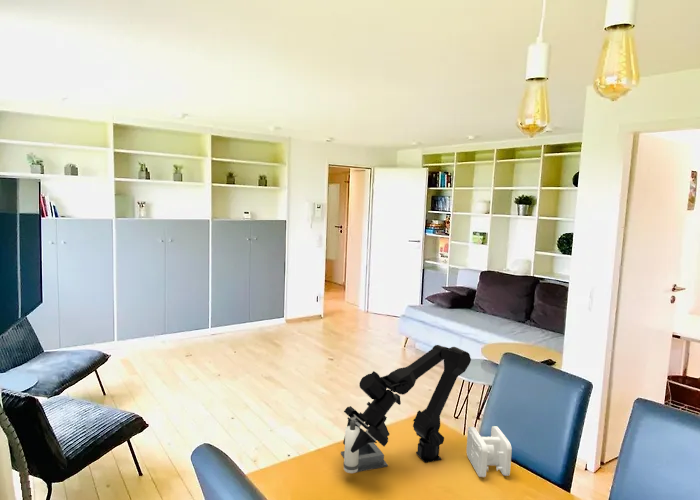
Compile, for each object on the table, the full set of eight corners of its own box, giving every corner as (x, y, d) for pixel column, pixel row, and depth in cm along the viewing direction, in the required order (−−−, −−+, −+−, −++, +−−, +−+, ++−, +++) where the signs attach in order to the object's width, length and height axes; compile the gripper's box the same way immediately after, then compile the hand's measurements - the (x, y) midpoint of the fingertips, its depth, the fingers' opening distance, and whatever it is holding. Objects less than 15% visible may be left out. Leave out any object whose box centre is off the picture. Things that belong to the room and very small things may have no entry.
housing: (372, 447, 162) (373, 438, 162) (387, 466, 151) (388, 455, 151) (340, 453, 158) (341, 443, 158) (353, 472, 147) (354, 461, 147)
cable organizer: (511, 481, 146) (514, 446, 145) (478, 481, 145) (481, 446, 144) (494, 455, 161) (496, 423, 159) (464, 455, 160) (466, 423, 159)
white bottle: (355, 463, 146) (356, 417, 144) (360, 471, 142) (362, 423, 140) (341, 466, 144) (343, 419, 143) (346, 474, 140) (348, 425, 139)
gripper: (411, 433, 141) (379, 477, 137) (378, 409, 157) (348, 447, 153) (390, 413, 137) (357, 458, 132) (359, 390, 153) (328, 429, 148)
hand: (347, 448), depth 142 cm, fingers closed on white bottle, 4 cm apart
